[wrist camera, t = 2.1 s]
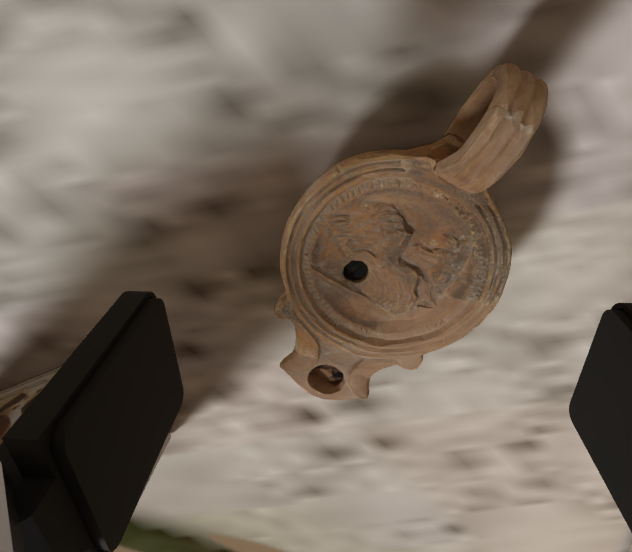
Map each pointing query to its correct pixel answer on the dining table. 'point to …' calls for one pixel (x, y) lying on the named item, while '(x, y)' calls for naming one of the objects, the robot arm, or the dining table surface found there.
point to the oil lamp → (404, 244)
